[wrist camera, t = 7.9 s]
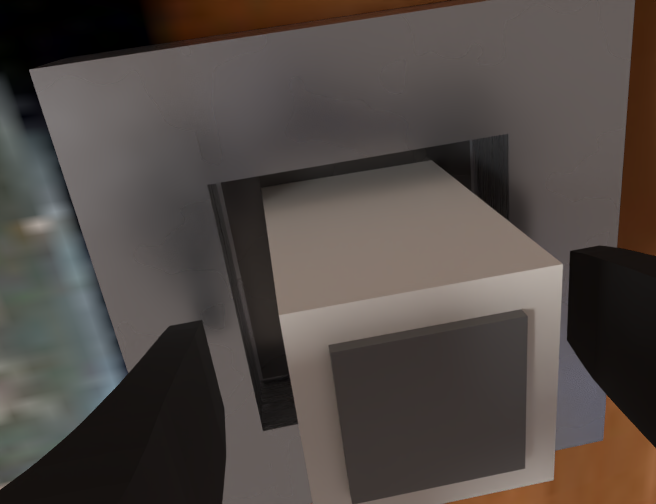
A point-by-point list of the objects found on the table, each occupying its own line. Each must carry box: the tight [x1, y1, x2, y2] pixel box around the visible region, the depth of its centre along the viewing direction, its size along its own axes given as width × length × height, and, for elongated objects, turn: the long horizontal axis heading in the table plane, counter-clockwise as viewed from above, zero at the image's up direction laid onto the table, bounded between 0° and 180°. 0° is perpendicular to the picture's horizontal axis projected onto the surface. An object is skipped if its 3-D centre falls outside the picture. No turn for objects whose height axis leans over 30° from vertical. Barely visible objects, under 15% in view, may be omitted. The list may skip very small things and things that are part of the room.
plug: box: [261, 160, 563, 504], centre depth 11 cm, size 4×4×6 cm
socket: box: [29, 0, 635, 504], centre depth 14 cm, size 11×11×2 cm
